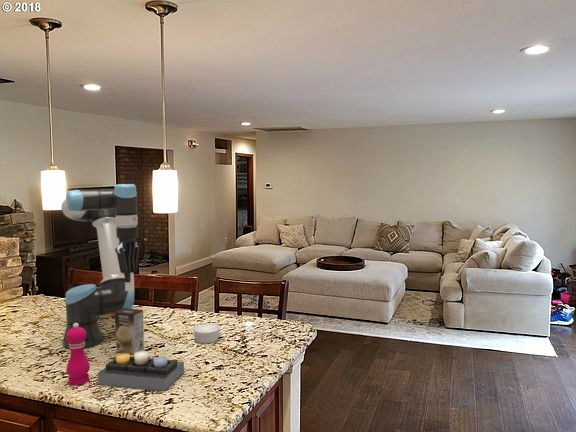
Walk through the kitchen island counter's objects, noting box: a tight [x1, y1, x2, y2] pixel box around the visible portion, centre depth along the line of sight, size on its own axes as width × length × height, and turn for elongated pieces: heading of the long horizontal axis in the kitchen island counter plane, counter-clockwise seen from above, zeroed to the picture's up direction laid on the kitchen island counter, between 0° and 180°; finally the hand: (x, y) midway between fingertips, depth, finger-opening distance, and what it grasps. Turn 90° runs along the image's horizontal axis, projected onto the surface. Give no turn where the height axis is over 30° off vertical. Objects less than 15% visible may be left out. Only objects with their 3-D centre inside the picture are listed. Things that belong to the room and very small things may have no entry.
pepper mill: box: [65, 323, 91, 386], centre depth 155 cm, size 7×7×20 cm
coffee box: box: [114, 308, 145, 355], centre depth 182 cm, size 9×6×16 cm
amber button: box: [115, 353, 131, 365], centre depth 158 cm, size 4×4×7 cm
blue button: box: [154, 355, 168, 368], centre depth 155 cm, size 4×4×7 cm
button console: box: [97, 356, 185, 392], centre depth 157 cm, size 24×14×6 cm, turn 77°
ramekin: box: [192, 322, 221, 344], centre depth 193 cm, size 11×11×5 cm
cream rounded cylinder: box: [133, 350, 149, 366], centre depth 156 cm, size 4×4×7 cm
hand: (129, 290), depth 171 cm, fingers closed
